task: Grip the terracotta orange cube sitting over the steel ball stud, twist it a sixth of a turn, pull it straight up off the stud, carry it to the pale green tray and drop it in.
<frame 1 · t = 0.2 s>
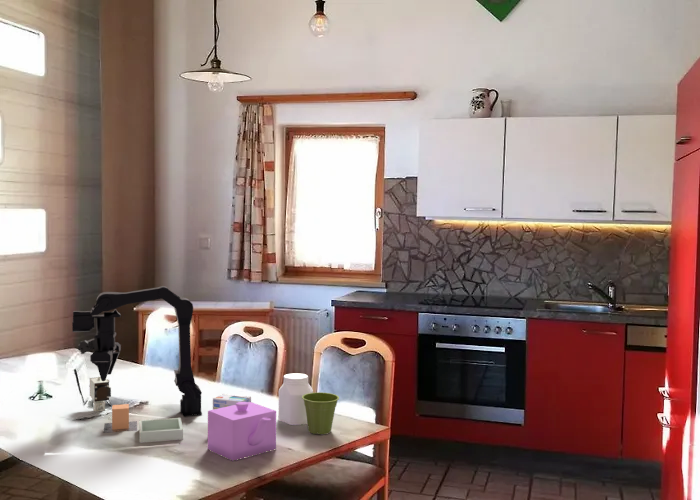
hand: (106, 377, 236), 14 cm above the table, tool pointing down, fingers open, 9 cm apart
pneumatic valve: (100, 411, 247), on the table
lilac knobbed box: (244, 451, 209), on the table
plant pot: (320, 432, 228), on the table
terracotta orange cube: (120, 426, 228), point 1 cm above the table, touching stud plate
jar: (295, 420, 240), on the table
stud plate: (120, 428, 228), on the table
tray: (160, 436, 221), on the table
light bulb box: (231, 431, 228), on the table
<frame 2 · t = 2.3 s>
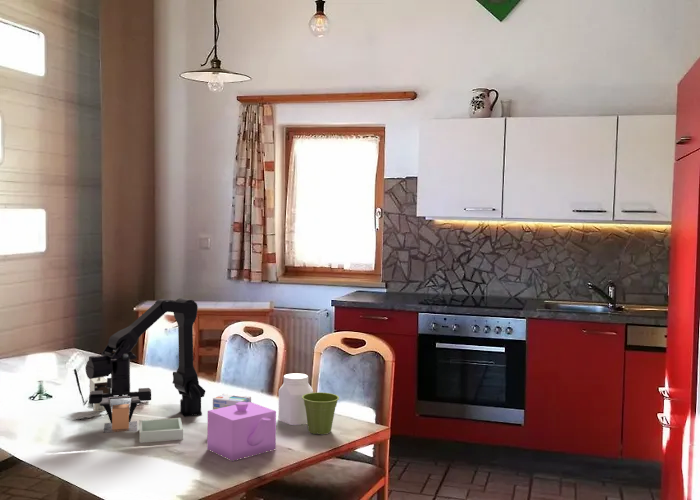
hand: (120, 422, 227), 2 cm above the table, tool pointing down, fingers closed on terracotta orange cube, 5 cm apart
terracotta orange cube: (120, 426, 228), point 1 cm above the table, touching gripper, stud plate
everything else where it was.
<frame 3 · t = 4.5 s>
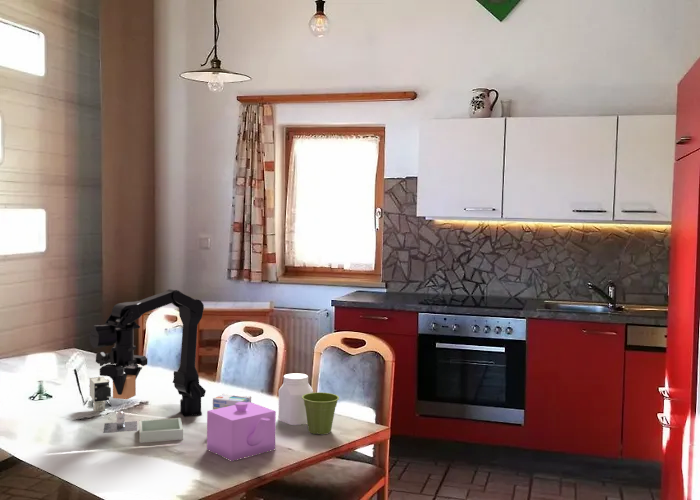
hand: (124, 392, 226), 12 cm above the table, tool pointing down, fingers closed on terracotta orange cube, 5 cm apart
terracotta orange cube: (124, 396, 226), point 10 cm above the table, touching gripper
everything else where it was.
when the fingers open (4 cm above the table, at t = 7.0 s): terracotta orange cube drops 2 cm, resting on tray.
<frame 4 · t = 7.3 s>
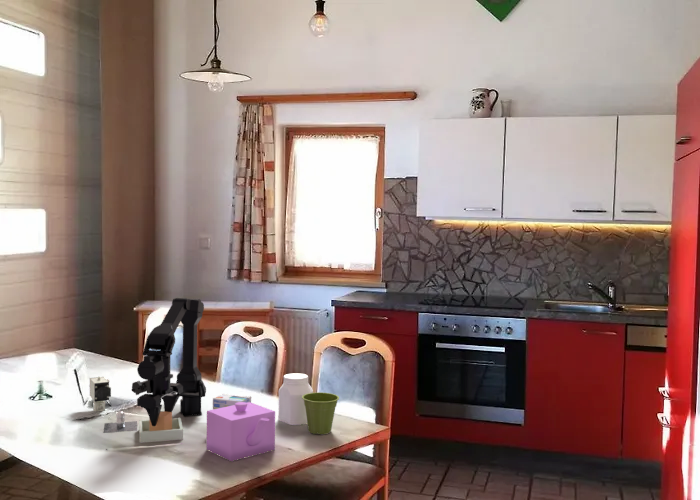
hand: (160, 422, 220), 4 cm above the table, tool pointing down, fingers open, 8 cm apart
terracotta orange cube: (160, 434, 221), point 1 cm above the table, touching tray
everything else where it was.
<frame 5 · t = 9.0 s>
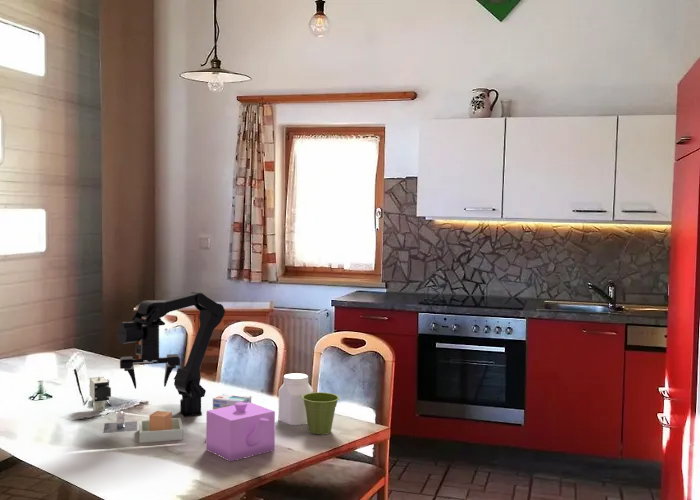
hand: (150, 387, 233), 12 cm above the table, tool pointing down, fingers open, 9 cm apart
nothing on the table moved.
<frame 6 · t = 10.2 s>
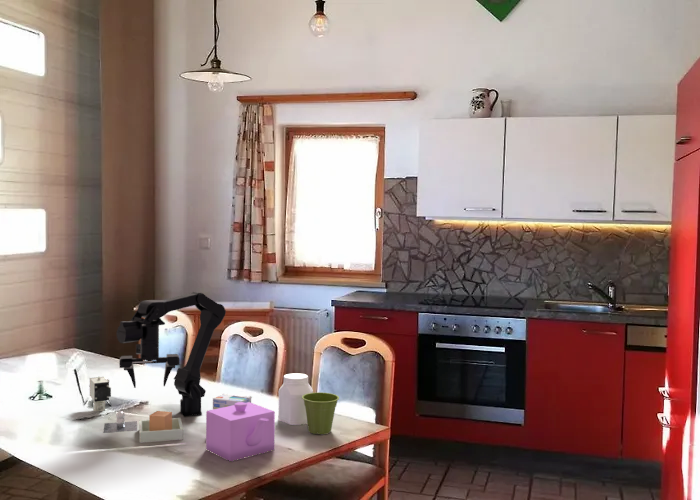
hand: (149, 386, 233), 12 cm above the table, tool pointing down, fingers open, 9 cm apart
nothing on the table moved.
at the end: terracotta orange cube inside the target area on the tray (0.0 cm from its centre), point 0.6 cm above the tray's base; the gripper is holding nothing; terracotta orange cube moved 16.3 cm from its start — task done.
